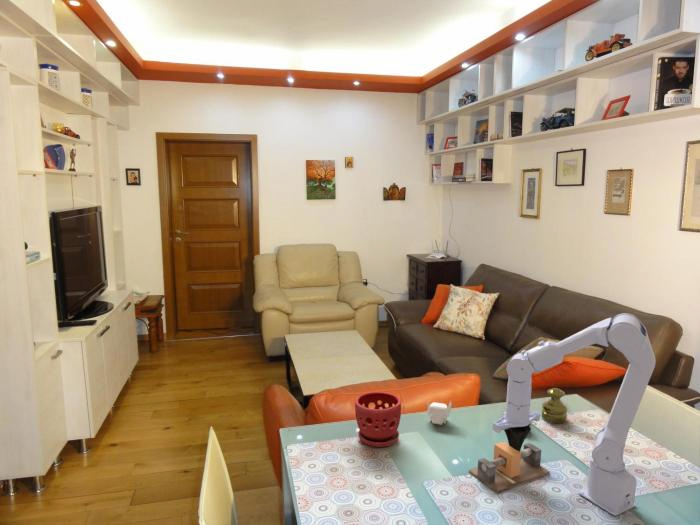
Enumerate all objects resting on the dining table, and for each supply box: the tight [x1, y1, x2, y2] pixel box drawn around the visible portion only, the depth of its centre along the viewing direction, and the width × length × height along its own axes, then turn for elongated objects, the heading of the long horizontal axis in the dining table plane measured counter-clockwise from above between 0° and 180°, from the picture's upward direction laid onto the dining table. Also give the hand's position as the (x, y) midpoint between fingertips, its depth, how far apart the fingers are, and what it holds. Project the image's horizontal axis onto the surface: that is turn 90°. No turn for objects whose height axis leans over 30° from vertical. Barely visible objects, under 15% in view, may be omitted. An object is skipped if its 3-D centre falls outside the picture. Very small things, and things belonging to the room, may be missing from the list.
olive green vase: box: [541, 387, 569, 425], centre depth 157 cm, size 7×8×10 cm
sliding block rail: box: [468, 442, 551, 494], centre depth 128 cm, size 10×18×5 cm, turn 119°
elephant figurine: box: [426, 397, 453, 425], centre depth 154 cm, size 8×10×7 cm
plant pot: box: [354, 391, 402, 448], centre depth 143 cm, size 13×13×12 cm
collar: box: [493, 441, 521, 478], centre depth 127 cm, size 6×3×6 cm, turn 29°
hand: (514, 451), depth 128 cm, fingers closed
